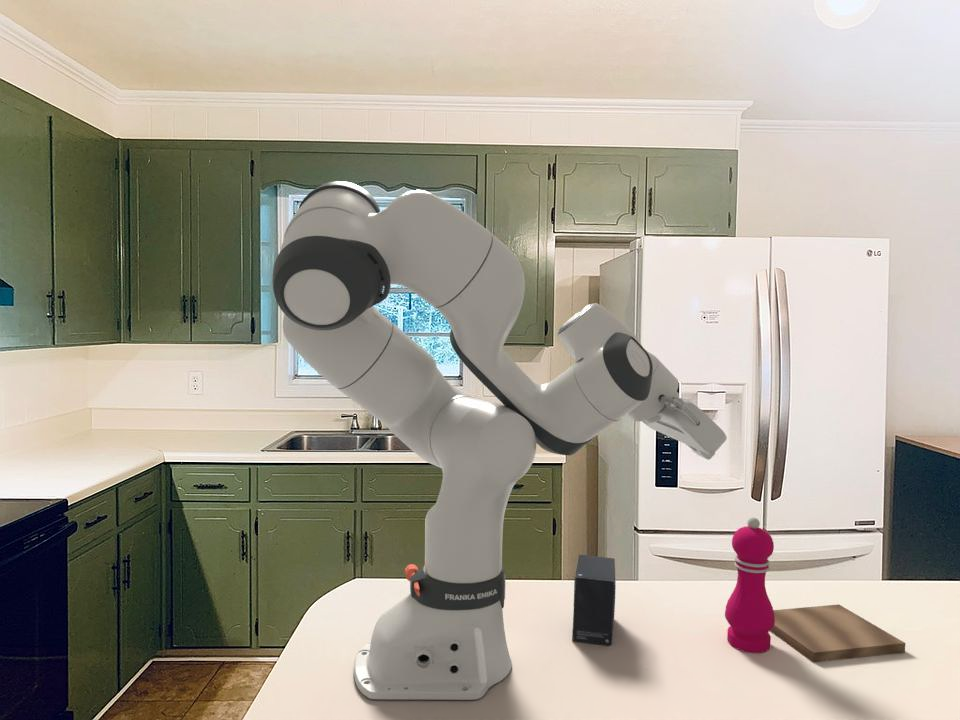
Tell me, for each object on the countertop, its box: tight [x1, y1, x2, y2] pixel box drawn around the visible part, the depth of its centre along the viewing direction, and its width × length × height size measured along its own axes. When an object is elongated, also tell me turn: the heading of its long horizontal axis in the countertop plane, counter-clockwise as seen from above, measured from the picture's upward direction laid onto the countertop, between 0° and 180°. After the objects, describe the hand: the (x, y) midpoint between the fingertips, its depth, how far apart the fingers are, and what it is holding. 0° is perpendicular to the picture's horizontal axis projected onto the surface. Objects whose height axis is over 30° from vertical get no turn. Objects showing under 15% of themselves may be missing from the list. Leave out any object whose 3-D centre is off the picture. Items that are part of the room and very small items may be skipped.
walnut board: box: [769, 603, 906, 663], centre depth 109 cm, size 16×14×2 cm
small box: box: [571, 554, 617, 646], centre depth 110 cm, size 11×6×10 cm, turn 168°
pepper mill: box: [724, 517, 775, 654], centre depth 105 cm, size 7×7×20 cm
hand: (707, 454), depth 102 cm, fingers closed
